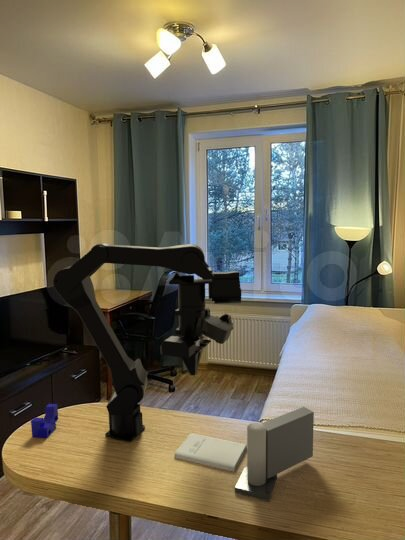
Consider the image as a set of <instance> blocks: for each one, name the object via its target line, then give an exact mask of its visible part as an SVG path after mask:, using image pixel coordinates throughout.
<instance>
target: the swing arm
mask: <svg viewBox="0 0 405 540" xmlns="http://www.w3.org/2000/svg"><path fill="white" fill-rule="evenodd" d="M314 414H315V413H314V411H313V410H311V409H309V408H307V407H305V406H303V407H299V408H297V409H294V410H292V411H289V412H287V413H284V414H282V415H280V416H277V417H275V418H274V417H273V418H272V419H270V420H267V421H264V422H251V423H249V424H248V425H247V426H246V431H247V433H246V436H247V438H246V445H247V449H246V451H247V456H246V460H247V461H246V464H247V465H246V468H247V481H248V482H249V483H250V484H251V485H254V486H261V485H263V484H264V483H265V482H266V478H267V479H268V478H270V477H272V476H274V475H276V474H277V475H279V474H280V473H282V472H284V471H286V470H289V469H290V468H292V467H295V466H296V465H298V464H300V463H302V462H304V461H306V460H309V459H310V458H312V457H313V456H314V426H315V425H314V422H315V419H314V417H315V416H314Z"/></svg>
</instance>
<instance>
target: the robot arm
mask: <svg viewBox="0 0 405 540" xmlns="http://www.w3.org/2000/svg"><path fill="white" fill-rule="evenodd" d="M205 258H206V257H205V252H204V251H203V249H202V248H201V247H200V246H199V245H197V244H193V243H187V244H180V245H179V244H178V245H173V246H172V245H171V246H165V247H155V246H154V247H153V246H138V245H122V244H109V243H107V242H106V243H105V242H103V243H102V242H100V243H97V244H96V245H93V246H92V248H91V249H90V250H89V251H88V252H87V253H85V255H83V256H82V257H81V258H80V259H78V260H77V261H76V262H75V263H73V264H72V265H70V266H69V265H68V266H67V267H65V268H62V269H60V270H59V271H57V272H56V274H55V275H54V277H53V281H52V285H53V288H54V291H55V292H56V293H57V294H58V295H59V297H60V298H61V299H62V300H63V302H65V304H67V305H68V306H69V307H71V308H72V309H73V310H75V312H76V313H77V314H78V316H79V318H80V319H81V321H82V323H83V324H84V327H85V329H86V330H87V331H88V333H89V335H90V336H91V338H92V341H93V342H94V344H95V346H96V347H97V350H98V351H99V352H100V354H101V356H102V358H103V361H105V364H107V366H108V368H109V371H110V377H111V382H112V386H113V392H112V394H111V396H110V398H109V400H108V402H107V404H106V409H107V412H108V426H109V427H108V428H109V430H107V432H105V433H104V435H105V437H107V438H111V439H115V440H120V441H122V442H123V441H124V442H129V443H130V442H132V441H133V440H134V439H135V438H136V437H137V436H138V435H139V434H140V433H141V432H142V431H143V430H144V429H145V428H146V425H145V424H143V411H141V403H140V402H142V400H143V398H144V396H145V392H146V389H147V385H148V374H149V372H148V371H147V370H146V369H145V368H144V366H143V364H142V361H141V359H140V358H137V359H136V360H135V361H134V360H133V359H132V358H130V357H129V356H128V354H127V353H126V351H125V350H124V347H123V346H122V344H121V341H119V338H118V337H117V335H116V333H115V332H114V330H113V328H112V326H111V324H110V323H109V321H108V319H107V318H106V316H105V314H104V312H103V310H102V309H101V307H100V305H99V303H98V301H97V298H96V293H95V288H94V284H93V281H92V278H91V277H92V276H93V275H94V274H95V273H96V272H97V271H98V270H99V269H100V268H101V267H102V266H103V265H104V264H113V265H114V264H115V265H129V266H130V265H131V266H146V267H160V268H165V269H168V270H170V271H172V272H175V273H174V275H173V276H172V277H171V278H169V280H168V284H169V285H172V286H173V285H177V295H178V297H177V298H178V300H177V301H178V303H177V304H178V308H177V309H175V310H174V315H175V316H178V327H177V328H176V329H175V335H176V336H175V335H171V336H169V337H168V338H166V339H165V340H164V341H162V342H161V343H160V346H159V347H160V348H159V349H160V355H162V356H168V357H175V358H176V357H177V358H181V359H182V362H183V363H184V365H185V367H186V369H187V371H188V373H189V375H190V376H196V375H197V372H198V369H199V367H200V366H199V365H200V361H201V358H202V355H203V354H202V353H203V352H204V349H206V347H207V346H208V345H209V344H211V342H212V341H215V343H217V344H220V345H223V344H225V343H226V341H228V340H229V339H230V335H231V333H232V331H233V330H234V326H233V325H234V323H233V322H232V321H233V320H232V316H231V315H230V314H228V313H223V314H222V315H221V316H220V317H219V316H218V315H217V316H214V315H211V309H210V308H209V307H206V285H208V286H207V288H208V291H207V293H208V300H211V302H213V305H225V304H228V305H230V304H234V305H235V304H236V305H237V304H241V303H242V288H241V281H240V272H239V271H238V270H234V271H233V270H231V271H220V272H218V271H216V272H214V271H213V268H212V267H211V266H210V265H209V264H208V263H207V261H206V259H205ZM180 273H182V274H184V275H182V274H180ZM195 275H196V276H197V277H199V278H195ZM177 335H181V336H177ZM206 337H207V338H209V339H206ZM139 403H140V404H139Z"/></svg>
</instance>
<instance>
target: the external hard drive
mask: <svg viewBox="0 0 405 540" xmlns="http://www.w3.org/2000/svg"><path fill="white" fill-rule="evenodd" d="M246 451H247V443H246V444H245V443H241V442H235V441H231V440H226V439H221V438H217V437H212V436H207V435H202V434H196V433H193V432H191V433H189V435H188V436H187V437H186V438H185V439H184V440H183V442H182V443H181V444H180V446H179V447H178V448H177V449H176V450H175V452H174V458H175V459H180V460H183V461H187V462H192V463H196V464H200V465H206V466H209V467H213V468H217V469H221V470H226V471H230V472H235V471H236V470H237V468H238V465H239V463H241V460H242V458H243V456H244V454H245V452H246Z"/></svg>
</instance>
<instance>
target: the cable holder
mask: <svg viewBox="0 0 405 540" xmlns="http://www.w3.org/2000/svg"><path fill="white" fill-rule="evenodd" d="M58 411H59V409H58V404H57V403H48V404H47V405H46V406H45V413H44V417H35V416H34V417H33V418H32V420H30V424H31V426H30V427H31V438H38V439H48V438H49V437H51V435H52V434H53V433H54V432H55V431H56V429H57V421H58V420H59V412H58Z"/></svg>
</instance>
